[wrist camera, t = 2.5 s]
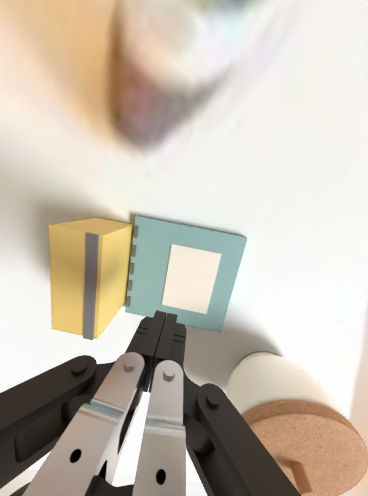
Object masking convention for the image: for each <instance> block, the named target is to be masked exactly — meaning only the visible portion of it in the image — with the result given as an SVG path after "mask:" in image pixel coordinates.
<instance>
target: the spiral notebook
mask: <svg viewBox="0 0 368 496" xmlns="http://www.w3.org/2000/svg"><path fill="white" fill-rule="evenodd" d="M246 241H247V237H245V236H240V235H235V234H230V233H225V232H220V231H214V230H209V229H204V228H199V227H194V226H189V225H183V224H178V223H173V222H168V221H163V220H158V219H153V218H147V217H142V216H135V224H134V233H133V243H132V253H131V262H130V272H129V282H128V291H127V301H126V310H125V312H128V313H132V314H137V315H142V316H146V317H147V316H148V317H152V318H153V317H154V314H155V312H156V310H158V311H163V312H167V313H172V314H177V315H178V316H177V321H176V323H181V324H184V325H188V326H193V327H197V328H202V329H207V330H211V331H216V332H220V331H221V328H222V324H223V321H224V318H225V314H226V311H227V307H228V304H229V300H230V297H231V293H232V290H233V286H234V283H235V279H236V276H237V272H238V269H239V265H240V262H241V258H242V255H243V251H244V248H245V244H246ZM166 316H167V314H166Z"/></svg>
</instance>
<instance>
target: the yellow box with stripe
mask: <svg viewBox="0 0 368 496" xmlns="http://www.w3.org/2000/svg"><path fill="white" fill-rule="evenodd" d="M133 232H134V225H133V224H128V223H123V222H118V221H112V220H107V219H102V218H90V219H84V220H77V221H70V222H63V223H56V224H49V249H50V281H51V314H52V329H55V330H59V331H64V332H68V333H73V334H77V335H82V336H83V338H86V339H90V340H93V339H94V338H95V339H98V337H99V336H100V335H101V333H102V332H103V331H104V329H105V328H106V327H107V325H108V324H109V323H110V321H111V320H112V319H113V317H114V316H115V315H116V313H117V312H118V311H119V309H120V308H121V307H122V305H123V304H124V303H125V301H126V300H127V290H128V280H129V270H130V261H131V251H132V241H133Z"/></svg>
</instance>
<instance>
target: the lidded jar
mask: <svg viewBox="0 0 368 496" xmlns="http://www.w3.org/2000/svg"><path fill="white" fill-rule="evenodd" d="M225 394H226V396H227V397H228V398H229V400H230V401H231V402H232V404H233V405H234V406H235V408H236V409H237V410H238V412H239V413H240V414H241V416H242V417H243V418H244V420H245V421H246V422H247V424H248V425H249V426H250V428H251V429H252V430H253V432H254V433H255V434H256V436H257V437H258V438H259V440H260V441H261V442H262V444H263V445H264V446H265V448H266V449H267V450H268V452H269V453H270V454H271V456H272V457H273V458H274V460H275V461H276V462H277V464H278V465H279V466H280V468H281V469H282V470H283V472H284V473H285V474H286V476H287V477H288V478H289V480H290V481H291V482H292V484H293V485H294V487H295V488H296V489H297V491H298V492H299V493H300V495H301V496H339V495H341V494H343V493H345V492H346V491H348V490H350V489H352V488H353V487H354V486H356V485H357V484H358V483H359V482H360V480H361V479H362V478H363V476H364V475H365V473H366V472H367V468H368V451H367V447H366V445H365V443H364V441H363V439H362V438H361V436H360V435H359V433H358V432H357V431H356V429H355V428H354V427H353V426H352V424H351V423H350V422H349V421H348V420H347V419H346V417H345V416H344V414H343V413H342V411H341V410H340V409H339V407H338V406H337V404H336V403H335V402H334V400H333V399H332V398H331V397H330V395H329V394H328V393H327V392H326V390H325V389H324V388H323V387H322V386H321V384H320V383H319V382H318V381H317V380H316V379H315V378H314V377H313V376H312V375H311V374H309V373H308V372H307V371H306V370H305V369H303V368H302V367H301V366H299V365H298V364H296V363H294V362H292V361H291V360H288V359H286V358H283V357H280V356H278V355H276V354H273V353H269V352H256V353H252V354H250V355H248V356H246V357H245V358H243V359H242V360H241V361H240V363H239V364H238V366H237V367H236V368H235V369H234V371H233V372H232V374H231V376H230V378H229V381H228V384H227V388H226V393H225Z"/></svg>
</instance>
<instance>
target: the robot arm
mask: <svg viewBox="0 0 368 496" xmlns="http://www.w3.org/2000/svg"><path fill="white" fill-rule="evenodd" d="M166 314H167V316H166ZM177 316H178V315H177V314H172V313H167V312H163V311H158V310H156V312H155V314H154V317H153V318H152V317H148V316H147V317H145V318H144V319H143V320H141V322H140V324H139V326H138V328H137V330H136V333H135V334H134V336H133V338H132V340H131V342H130V344H129V346H128V348H127V350H126V352H125V354H123V355H121V356H120V357H119V358H118V359H117V360H116V361H115V362H112V363H106V364H97V363H96V360H95V359H94V358H93V357H91V356H87V355H83V356H78V357H75V358H73V359H71V360H69V361H67V362H65V363H63V364H61V365H59V366H56V367H54V368H52V369H50V370H48V371H46V372H44V373H42V374H40V375H37V376H35V377H33V378H31V379H29V380H27V381H25V382H23V383H21V384H19V385H16V386H14V387H12V388H10V389H8V390H6V391H4V392H2V393H0V489H1V488H2V487H3V486H5V485H6V484H7V483H9V482H10V481H11V480H13V479H14V478H15V477H17V476H18V475H19V474H21V473H22V472H23V471H25V470H26V469H27V468H29V467H30V466H31V465H33V464H34V463H35V462H36V461H38V460H39V459H40V458H42V457H43V456H44V455H46V454H47V453H48V452H50V451H51V450H52V451H51V452H50V454H49V456H48V457H47V459H46V460H45V462H44V463H43V465H42V466H41V468H40V469H39V471H38V472H37V474H36V475H35V477H34V478H33V480H32V481H31V482H30V483H28V484H26V485H24V486H23V487H21V488H20V489H19V490H17V491H16V492H14V493H13V494H12V495H10V496H186V447H187V451H188V453H189V455H190V458H191V460H192V462H193V464H194V466H195V469H196V471H197V473H198V475H199V477H200V480H201V482H202V484H203V486H204V489H205V491H206V493H207V495H208V496H301V495H300V493H299V492H298V491H297V489H296V488H295V487H294V485H293V484H292V482H291V481H290V480H289V478H288V477H287V476H286V474H285V473H284V472H283V470H282V469H281V468H280V466H279V465H278V464H277V462H276V461H275V460H274V458H273V457H272V456H271V454H270V453H269V452H268V450H267V449H266V448H265V446H264V445H263V444H262V442H261V441H260V440H259V438H258V437H257V436H256V434H255V433H254V432H253V430H252V429H251V428H250V426H249V425H248V424H247V422H246V421H245V420H244V418H243V417H242V416H241V414H240V413H239V412H238V410H237V409H236V408H235V406H234V405H233V404H232V402H231V401H230V400H229V398H228V397H227V396H226V394H225V393H224V392H223V391H222V390H221V389H220V388H219V387H218V386H216V385H214V384H204V385H202V386H201V387H200V386H198V385H197V384H195V383H193V382H192V381H191V380H190V379H189V378H188V377H187V376H186V374H185V372H184V369H183V361H184V351H185V341H186V328H185V326H184V324H181V323H176V321H177ZM150 380H151V381H150ZM149 384H150V387H149ZM148 388H149V393H151V395H150V400H149V406H148V411H147V417H146V422H145V428H144V433H143V438H142V444H141V449H140V455H139V460H138V466H137V471H136V477H135V482H134V484H133V485H127V486H121V487H114V486H112V485H111V484H112V481H113V478H114V474H115V470H116V467H117V463H118V460H119V457H120V455H121V452H122V449H123V446H124V444H125V441H126V438H127V436H128V433H129V430H130V427H131V425H132V422H133V419H134V417H135V414H136V411H137V408H138V404H139V402H140V399H141V396H142V392H143V391H145V392H147V391H148Z"/></svg>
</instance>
